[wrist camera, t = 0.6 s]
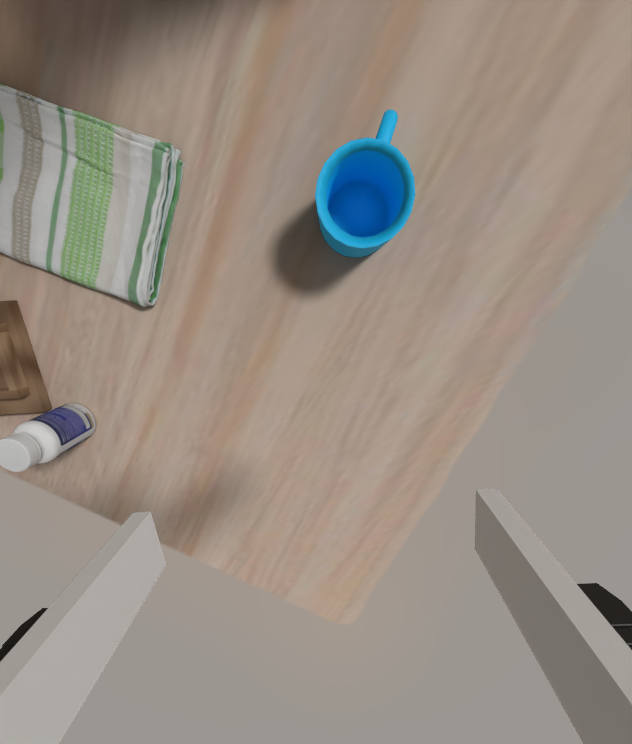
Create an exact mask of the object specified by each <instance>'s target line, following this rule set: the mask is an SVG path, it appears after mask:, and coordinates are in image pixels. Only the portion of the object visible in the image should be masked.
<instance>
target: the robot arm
mask: <svg viewBox="0 0 632 744" xmlns="http://www.w3.org/2000/svg"><path fill="white" fill-rule="evenodd" d="M475 550H476V551H477V553H478V555H479V557H480V558H481V560H482V562H483V564H484V566H485V568H486V569H487V571H488V573H489V575H490V577H491V578H492V580H493V582H494V584H495V586H496V587H497V589H498V591H499V593H500V595H501V596H502V598H503V600H504V601H505V603H506V605H507V607H508V609H509V611H510V612H511V614H512V616H513V618H514V619H515V621H516V623H517V625H518V627H519V629H520V630H521V632H522V634H523V636H524V637H525V639H526V641H527V643H528V645H529V647H530V648H531V650H532V652H533V654H534V655H535V657H536V659H537V661H538V663H539V665H540V666H541V668H542V670H543V672H544V673H545V675H546V677H547V679H548V680H549V682H550V684H551V686H552V688H553V690H554V691H555V693H556V695H557V697H558V699H559V701H560V702H561V704H562V706H563V708H564V710H565V711H566V713H567V715H568V717H569V718H570V720H571V722H572V724H573V726H574V727H575V729H576V731H577V733H578V735H579V736H580V738H581V740H582V742H583V744H632V612H631V611H630V610H629V608H628V607H627V606H626V605H625V604H624V603H623V602H622V601H621V600H619V599H618V598H617V597H615V596H614V595H613V594H611V593H610V592H608V591H607V590H606V589H604V588H603V587H601V586H600V585H599V584H597V583H592V584H576V583H575V582H574V580H573V579H572V578H571V577H570V576H569V574H568V573H567V572H566V571H565V570H564V568H563V567H562V566H561V565H560V564H559V562H558V561H557V560H556V559H555V558H554V556H553V555H552V554H551V553H550V552H549V550H548V549H547V548H546V547H545V546H544V544H543V543H542V542H541V541H540V540H539V539H538V537H537V536H536V535H535V534H534V532H533V531H532V530H531V529H530V528H529V527H528V525H527V524H526V523H525V522H524V520H522V518H521V517H520V516H519V515H518V513H517V512H516V511H515V510H514V509H513V507H512V506H511V505H510V504H509V503H508V501H507V500H506V499H505V498H504V497H503V495H502V494H501V493H500V492H499V491H498V489H496V488H495V489H481V490H476V519H475ZM165 566H166V563H165V559H164V556H163V552H162V549H161V545H160V542H159V538H158V535H157V532H156V528H155V525H154V521H153V518H152V514H151V511H150V512H135V513H132V514H131V516H130V517H129V518H128V519H127V520H126V521H125V522H124V523H123V525H122V526H121V527H120V528H119V529H118V530H117V531H116V532H115V534H114V535H113V536H112V537H111V538H110V539H109V540H108V541H107V543H106V544H105V545H104V546H103V547H102V548H101V549H100V550H99V552H98V553H97V554H96V555H95V556H94V557H93V558H92V559H91V561H90V562H89V563H88V564H87V565H86V566H85V567H84V568H83V570H82V571H81V572H80V573H79V574H78V575H77V576H76V577H75V579H74V580H73V581H72V582H71V583H70V584H69V585H68V586H67V588H66V589H65V590H64V591H63V592H62V593H61V594H60V595H59V597H58V598H57V599H56V600H55V601H54V602H53V603H52V604H51V606H50V607H49V608H42V609H41V610H40V611H38V612H37V613H36V614H35V615H33V616H32V617H31V618H30V619H28V620H27V621H26V622H25V623H23V624H22V625H21V626H20V627H19V628H18V629H17V630H16V631H15V632H14V633H13V635H12V636H11V637H10V638H9V639H8V640H7V641H6V642H5V643H4V644H3V645H2V648H1V649H0V744H59V742H60V741H61V739H62V737H63V735H64V734H65V732H66V731H67V729H68V728H69V726H70V724H71V723H72V721H73V719H74V717H75V716H76V714H77V712H78V711H79V709H80V707H81V706H82V704H83V703H84V701H85V699H86V698H87V696H88V694H89V692H90V691H91V689H92V687H93V686H94V684H95V683H96V681H97V679H98V677H99V676H100V674H101V673H102V671H103V669H104V668H105V666H106V664H107V662H108V661H109V659H110V657H111V656H112V654H113V653H114V651H115V649H116V648H117V646H118V644H119V643H120V641H121V639H122V638H123V636H124V634H125V632H126V631H127V629H128V627H129V626H130V624H131V622H132V621H133V619H134V617H135V616H136V614H137V613H138V611H139V609H140V608H141V606H142V604H143V603H144V601H145V599H146V598H147V596H148V594H149V593H150V591H151V589H152V588H153V586H154V584H155V583H156V580H157V579H158V577H159V576H160V574H161V573H162V571H163V569H164V568H165Z"/></svg>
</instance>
